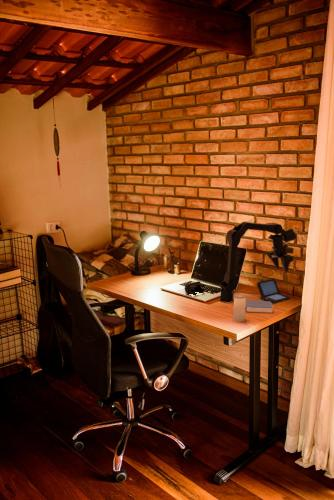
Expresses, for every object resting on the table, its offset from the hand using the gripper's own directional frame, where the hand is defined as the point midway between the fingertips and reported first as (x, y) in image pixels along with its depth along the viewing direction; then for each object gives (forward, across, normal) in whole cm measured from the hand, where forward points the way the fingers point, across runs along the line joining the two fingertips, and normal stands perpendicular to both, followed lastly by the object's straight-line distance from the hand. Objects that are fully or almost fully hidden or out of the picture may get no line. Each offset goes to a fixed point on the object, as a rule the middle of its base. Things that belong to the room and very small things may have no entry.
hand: (282, 270), depth 269 cm
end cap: (+4, +18, +49) cm, 52 cm away
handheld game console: (+14, -2, +10) cm, 17 cm away
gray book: (+9, -16, +27) cm, 33 cm away
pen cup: (+6, -27, +44) cm, 52 cm away
